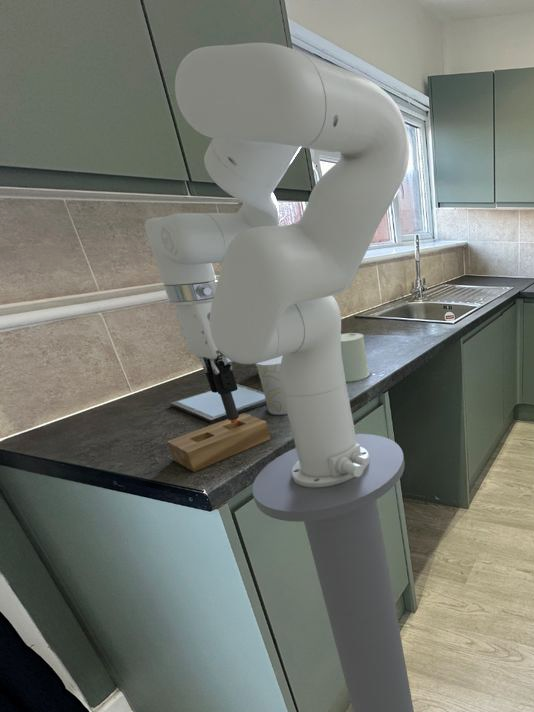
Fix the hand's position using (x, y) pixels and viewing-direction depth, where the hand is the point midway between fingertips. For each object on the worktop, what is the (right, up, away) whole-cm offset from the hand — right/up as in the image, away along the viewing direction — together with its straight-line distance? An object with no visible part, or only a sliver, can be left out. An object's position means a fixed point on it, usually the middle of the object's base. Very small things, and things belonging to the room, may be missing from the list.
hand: (224, 390), depth 79 cm
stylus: (0, -6, +2) cm, 7 cm away
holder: (-2, -11, +2) cm, 12 cm away
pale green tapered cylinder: (+9, +3, +40) cm, 41 cm away
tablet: (-17, -3, +24) cm, 29 cm away
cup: (+1, -5, +20) cm, 21 cm away
